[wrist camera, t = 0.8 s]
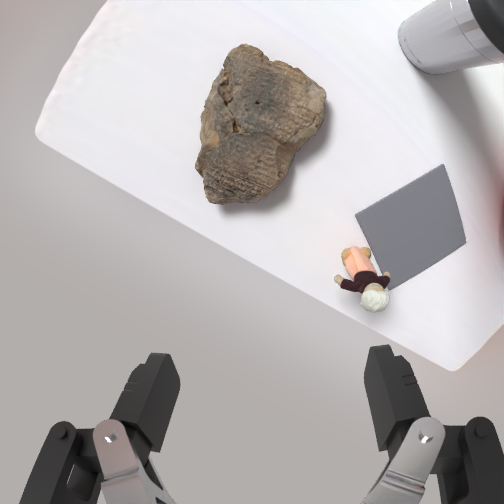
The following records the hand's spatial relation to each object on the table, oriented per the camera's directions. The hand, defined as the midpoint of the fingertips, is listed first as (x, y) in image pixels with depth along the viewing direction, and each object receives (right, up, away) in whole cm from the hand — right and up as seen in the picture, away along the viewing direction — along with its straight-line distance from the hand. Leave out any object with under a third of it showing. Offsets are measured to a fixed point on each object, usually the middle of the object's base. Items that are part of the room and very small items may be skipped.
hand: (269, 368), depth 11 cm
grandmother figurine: (+14, +4, +30) cm, 33 cm away
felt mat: (+24, +8, +27) cm, 37 cm away
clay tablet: (-1, +20, +24) cm, 31 cm away
